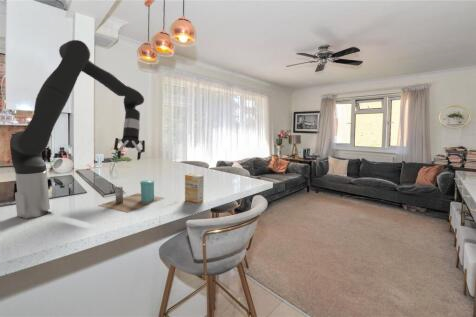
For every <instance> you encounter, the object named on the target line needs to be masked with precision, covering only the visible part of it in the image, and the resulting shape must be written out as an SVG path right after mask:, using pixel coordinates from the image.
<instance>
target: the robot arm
mask: <svg viewBox="0 0 476 317" xmlns="http://www.w3.org/2000/svg"><path fill="white" fill-rule="evenodd" d="M58 52H59V56H60V58H61V61H60V62H59V64H58V66H57V67H56V68H55V69H54V70H53V71H52V72H51V73H50V75H48V77H47V78H46V79H45V81H44V83H43V84H42V85H41V87H40V89H39V92H38V94H37V96H36V98H35V104H34V110H33V115H32V117H31V119H30V122H28V124H27V126H26V128H25V129H24V130H20V131H17V132H15V133H14V134H13V135H12V136H11V137H10V139H9V148H10V149H9V150H10V157H11V163H12V166H13V168H14V173H15V182H16V190H17V191H16V192H15V193H14V200H15V207H16V208H15V209H16V216H17V217H18V216H19V217H18V218H21V217H22V219H25V220H26V219H31V218H38V217H42V216H45V215H48V214H49V213H50V212H51V211H49V210H50V209H51V208H50V206H51V205H50V196H49V194H50V193H49V186H48V185H49V184H48V173H47V164H46V162H44V159H43V154H42V153H43V152H44V151H45V150H46V149H47V147H48V145H49V142H50V139H51V135H52V133H53V130H54V129H55V128H54V127H55V126H56V124H57V121H58V119H59V118H60V116H61V114H62V112H63V110H64V108H65V106H66V104H67V102H68V101H69V98H70V96H71V94H72V91H73V89H74V87H75V85H76V83H77V80H78V78H79V76H80V74H81V73H84V74H85V75H87V76H89V77H91V78H92V79H94V80H96V81H97V82H99V83H100V84H102V85H103V86H104V87H105V88H106V89H108V90H110V91H111V92H113V94H115V95H116V96H117V97H123V106H124V112H125V115H124V122H123V130H122V138H118V137H115V140H114V145H113V149H114V151H117V154H116V155H117V156H116V157H117V158H118V160H121V159H122V151H124V149H125V148H126V149H135V150H136V151H137V158H136V159H137V161H139V160H141V155H142V153H145V150H146V147H145V145H146V141H145V140H140V126H141V125H140V118H141V112H140V110H138V109H137V107H138V106H141V105H143V104H144V102H145V98H144V95H143V94H142V93H141V92H140V91H139V90H138V89H135V88H133V87H131V86H130V85H127V84H126V83H125V82H124V81H122V80H121V79H120V78H118V76H116V75H114V74H113V73H111V72H110V71H107V70H105V69H104V68H101V67H100V66H98V65H96V64H95V63H93V62H92V61H91V60H90V59H91V50H90V48H89V46H88V45H87V44H86V43H85V42H84V41H82V40H79V39H73V40H68V41H66V42H65V43H63V44H61V45H60V47H59V48H58ZM120 143H122V145H120V147H119V148H118V146H119V144H120ZM139 144H140V145H141V148H142V149H140V148H139Z"/></svg>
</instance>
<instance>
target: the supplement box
mask: <svg viewBox="0 0 476 317" xmlns="http://www.w3.org/2000/svg"><path fill="white" fill-rule="evenodd" d="M204 184H205V183H204V175H202V174H196V173H195V174H194V173H192V172H191V173H186V174H184V201H187V202H193V203H196V204H200V203H202V202H204V187H205V186H204Z"/></svg>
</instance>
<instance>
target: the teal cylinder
mask: <svg viewBox="0 0 476 317" xmlns="http://www.w3.org/2000/svg"><path fill="white" fill-rule="evenodd" d="M139 184H140V194H141V202H151V201H154V196H155V181H154V180H152V179H145V180H141V181H140V183H139Z"/></svg>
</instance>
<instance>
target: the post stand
mask: <svg viewBox="0 0 476 317" xmlns="http://www.w3.org/2000/svg"><path fill="white" fill-rule="evenodd" d="M114 191H115V199H114V200H111V201H109V202H108V201H107V202H105V203H102V204H98V205H97V206H98V207H101V208H106V209H110V210H114V211H118V212H123V213H126V214H129V213H130V212H132V211H136V210H138V209H140V208H143V207H147V206H149V205H152V204H153V203H156V202H158V201H159V202H160V201H161V200H164V199H165V197H161V196H156V195H154V201H151V202H141V192H139V193H138V192H137V193H134V194H130V195H126V196H124V189H123V186H117V187H115V188H114Z"/></svg>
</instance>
